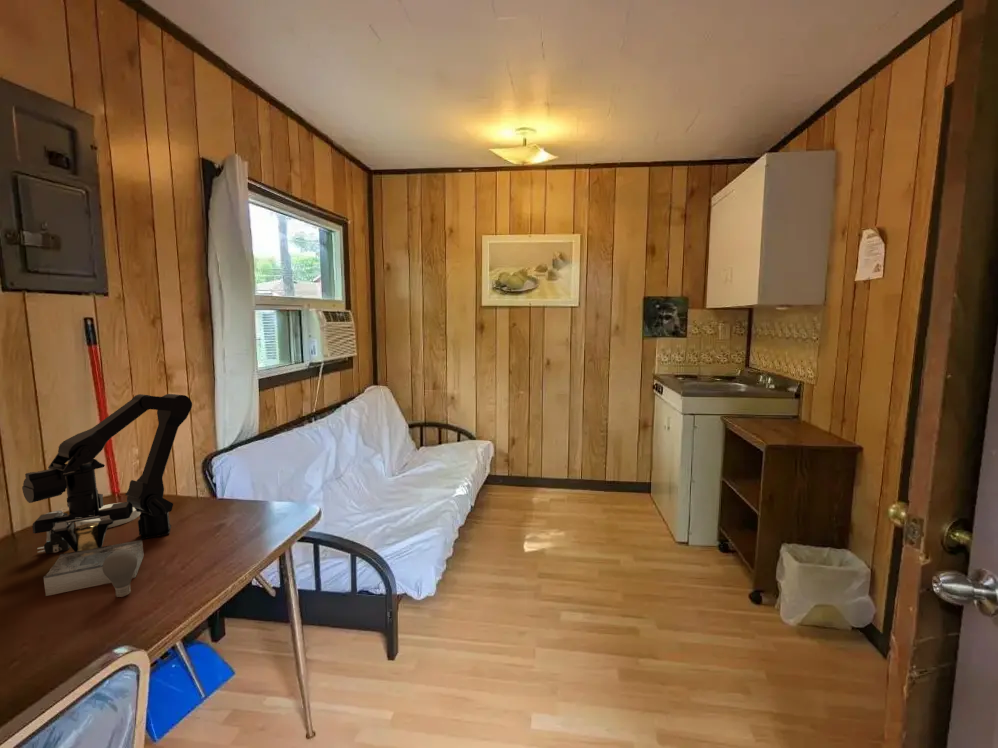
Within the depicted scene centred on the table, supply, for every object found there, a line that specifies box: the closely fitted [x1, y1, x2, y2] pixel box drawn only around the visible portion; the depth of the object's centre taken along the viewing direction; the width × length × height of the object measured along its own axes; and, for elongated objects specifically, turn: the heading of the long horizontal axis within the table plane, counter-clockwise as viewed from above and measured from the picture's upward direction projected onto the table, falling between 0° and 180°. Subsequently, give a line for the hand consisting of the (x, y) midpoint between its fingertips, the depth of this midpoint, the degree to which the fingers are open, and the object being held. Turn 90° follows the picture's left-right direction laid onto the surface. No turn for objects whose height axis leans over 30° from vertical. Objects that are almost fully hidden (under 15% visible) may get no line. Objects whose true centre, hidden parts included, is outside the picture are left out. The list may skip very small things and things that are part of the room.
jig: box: [43, 539, 145, 597], centre depth 119 cm, size 16×12×4 cm
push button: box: [36, 510, 71, 554], centre depth 131 cm, size 7×5×10 cm
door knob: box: [73, 523, 99, 551], centre depth 128 cm, size 5×5×8 cm
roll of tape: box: [74, 502, 141, 529], centre depth 152 cm, size 16×15×3 cm
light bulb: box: [102, 550, 137, 598], centre depth 110 cm, size 6×6×10 cm
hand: (88, 549), depth 128 cm, fingers closed on door knob, 4 cm apart
